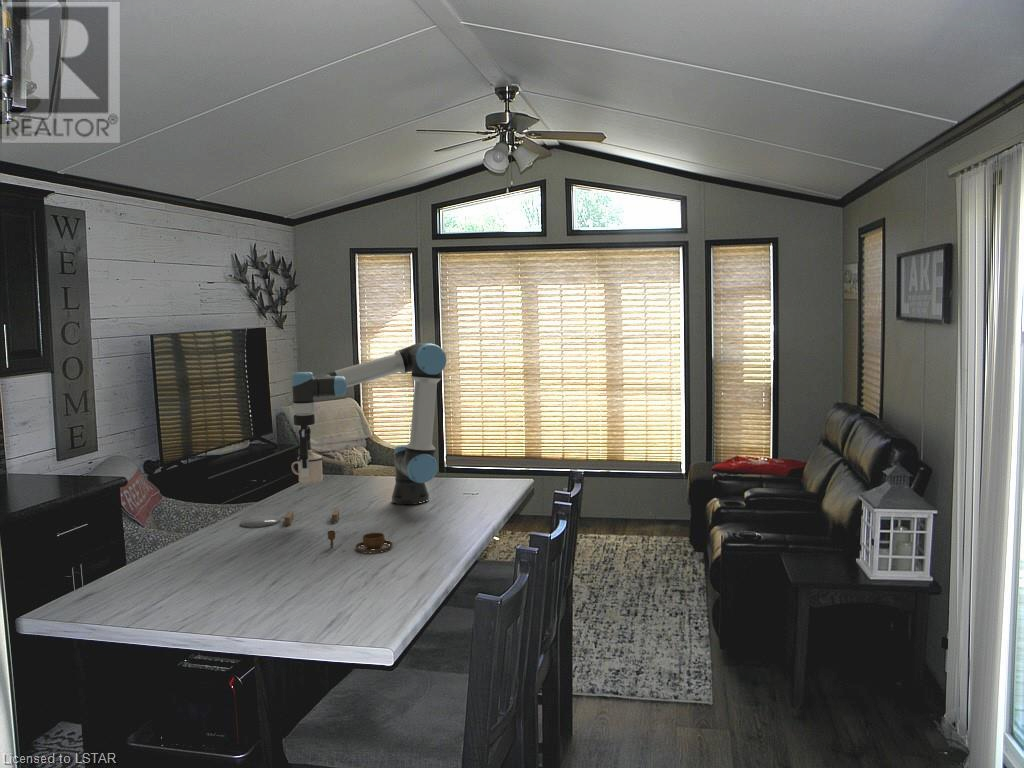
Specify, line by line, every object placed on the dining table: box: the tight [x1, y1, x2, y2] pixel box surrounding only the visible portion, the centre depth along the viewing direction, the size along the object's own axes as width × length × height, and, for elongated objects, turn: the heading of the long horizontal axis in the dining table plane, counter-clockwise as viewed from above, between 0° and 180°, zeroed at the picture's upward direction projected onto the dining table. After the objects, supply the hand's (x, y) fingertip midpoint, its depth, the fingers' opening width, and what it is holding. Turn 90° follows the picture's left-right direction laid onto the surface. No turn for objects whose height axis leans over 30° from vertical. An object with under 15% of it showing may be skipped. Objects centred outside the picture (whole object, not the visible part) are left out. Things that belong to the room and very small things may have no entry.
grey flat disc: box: [240, 514, 281, 528], centre depth 310 cm, size 14×14×1 cm
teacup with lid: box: [290, 449, 324, 484], centre depth 310 cm, size 12×9×12 cm
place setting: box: [327, 530, 393, 554], centre depth 274 cm, size 18×20×6 cm
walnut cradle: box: [284, 507, 340, 526], centre depth 311 cm, size 19×10×3 cm, turn 98°
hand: (306, 474), depth 309 cm, fingers closed on teacup with lid, 9 cm apart
